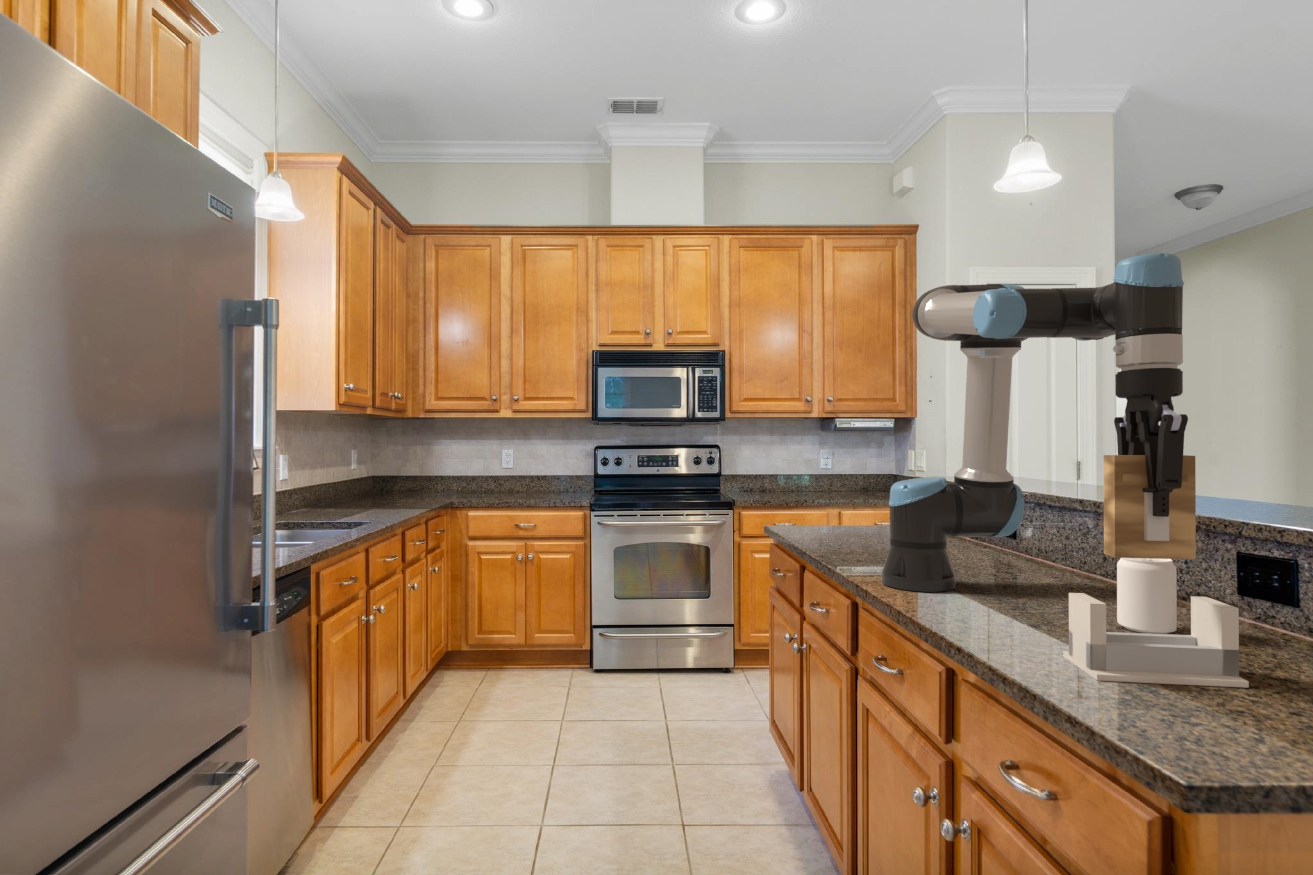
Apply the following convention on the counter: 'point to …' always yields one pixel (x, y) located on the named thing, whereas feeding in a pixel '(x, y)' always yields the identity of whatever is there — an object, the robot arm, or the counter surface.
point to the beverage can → (1147, 595)
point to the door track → (1157, 647)
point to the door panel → (1128, 511)
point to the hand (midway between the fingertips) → (1148, 537)
